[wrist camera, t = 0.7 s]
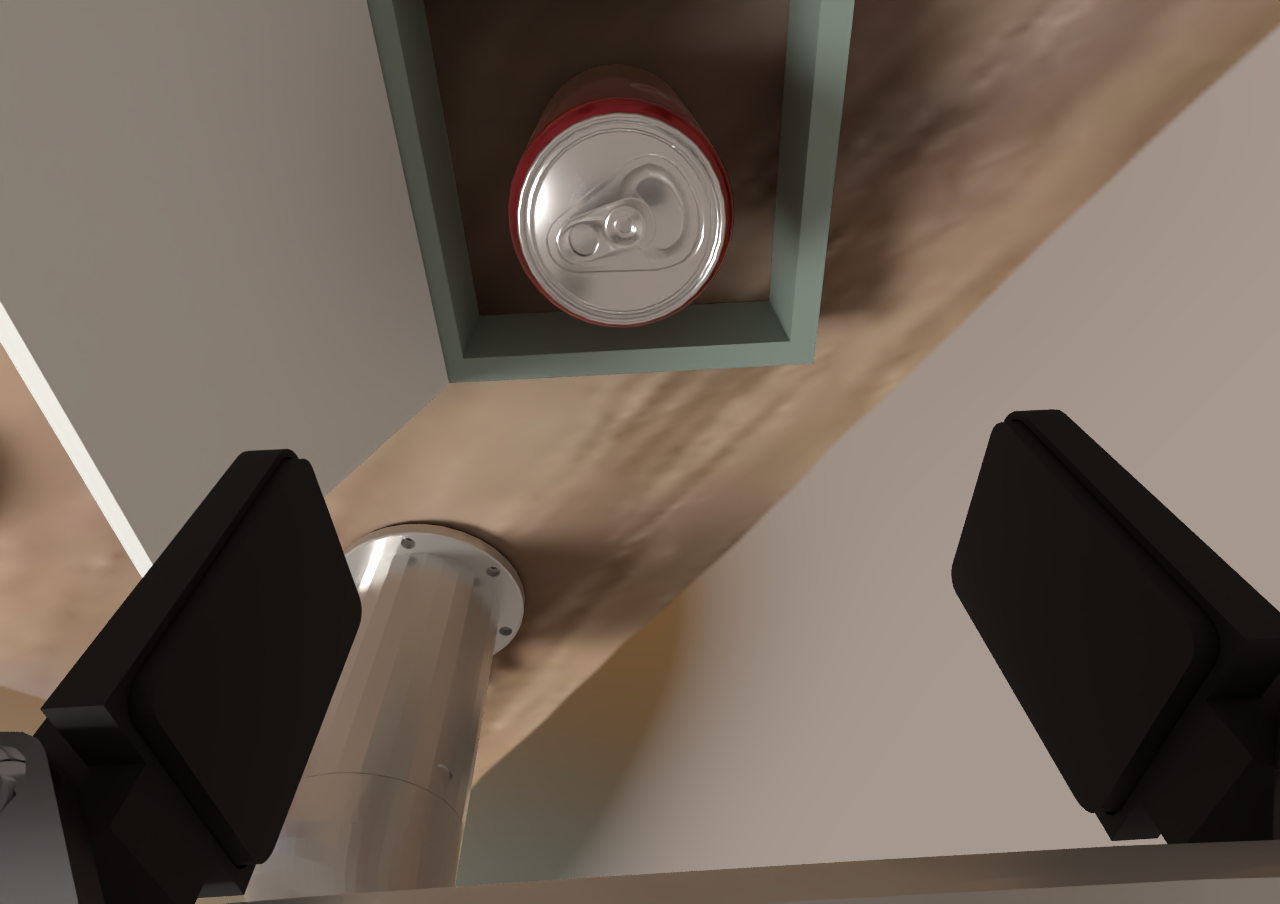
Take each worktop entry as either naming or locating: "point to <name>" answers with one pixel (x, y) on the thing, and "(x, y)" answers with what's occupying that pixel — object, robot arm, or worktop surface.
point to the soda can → (620, 200)
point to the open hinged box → (301, 240)
